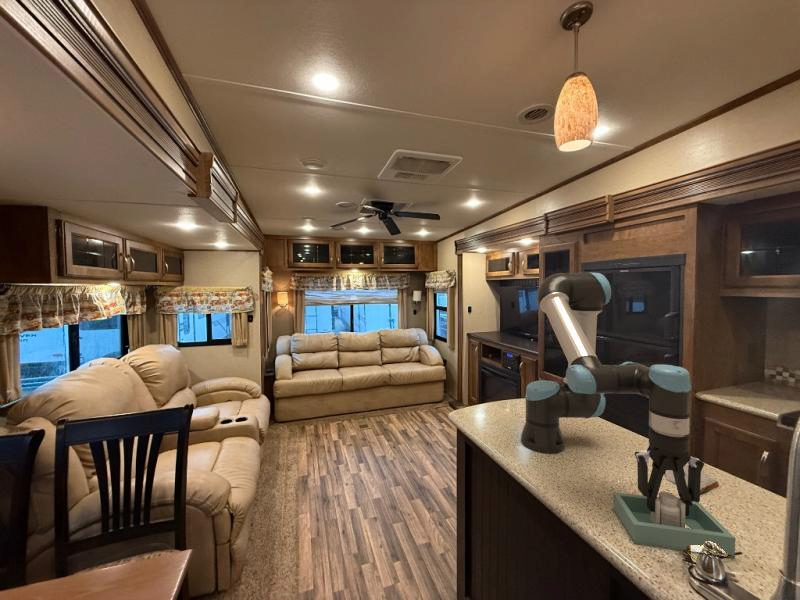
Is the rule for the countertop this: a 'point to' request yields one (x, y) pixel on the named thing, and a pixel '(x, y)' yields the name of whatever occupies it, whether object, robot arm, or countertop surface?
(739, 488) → the countertop surface
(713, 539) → the tray
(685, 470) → the stone
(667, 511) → the pill bottle
